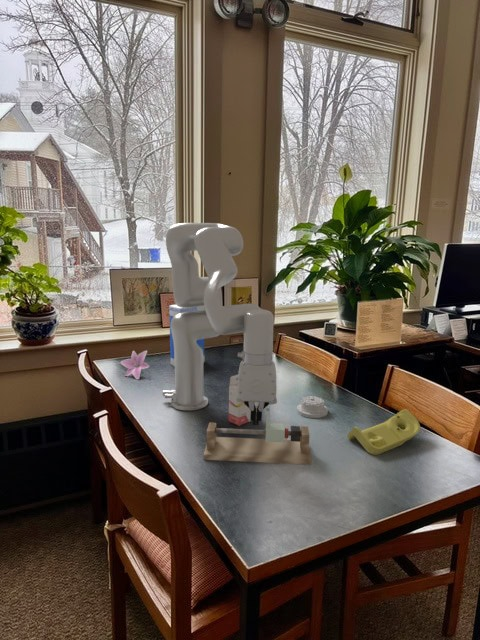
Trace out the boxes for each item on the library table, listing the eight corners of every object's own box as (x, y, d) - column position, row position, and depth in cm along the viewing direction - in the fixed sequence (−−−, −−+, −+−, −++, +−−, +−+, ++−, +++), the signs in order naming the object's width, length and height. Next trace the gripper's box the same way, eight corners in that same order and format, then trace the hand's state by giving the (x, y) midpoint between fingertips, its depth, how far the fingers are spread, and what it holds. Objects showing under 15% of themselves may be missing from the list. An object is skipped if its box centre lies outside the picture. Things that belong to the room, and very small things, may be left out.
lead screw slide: (203, 459, 123) (203, 433, 121) (208, 441, 133) (208, 416, 131) (311, 464, 121) (312, 438, 119) (308, 445, 131) (309, 420, 129)
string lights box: (194, 358, 207) (194, 301, 201) (205, 362, 201) (205, 303, 196) (169, 364, 198) (168, 305, 192) (180, 369, 193) (179, 307, 187)
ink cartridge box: (239, 426, 142) (239, 380, 139) (228, 421, 145) (228, 376, 142) (258, 418, 148) (259, 374, 145) (247, 413, 151) (248, 370, 148)
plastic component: (375, 451, 124) (352, 423, 130) (366, 467, 128) (344, 439, 135) (427, 430, 133) (402, 404, 139) (416, 446, 137) (393, 420, 144)
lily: (120, 374, 189) (113, 358, 183) (144, 359, 194) (139, 342, 188) (135, 391, 182) (128, 374, 175) (160, 374, 187) (155, 358, 180)
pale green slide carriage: (265, 441, 124) (266, 410, 122) (265, 435, 128) (266, 405, 126) (284, 442, 124) (285, 411, 122) (284, 436, 127) (285, 406, 125)
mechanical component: (295, 417, 150) (326, 420, 148) (295, 404, 149) (327, 407, 147) (298, 404, 159) (328, 408, 157) (299, 392, 158) (329, 395, 156)
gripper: (227, 360, 118) (226, 428, 122) (287, 363, 117) (284, 430, 121) (230, 352, 125) (229, 415, 129) (286, 354, 124) (283, 418, 128)
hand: (256, 422), depth 125 cm, fingers closed
